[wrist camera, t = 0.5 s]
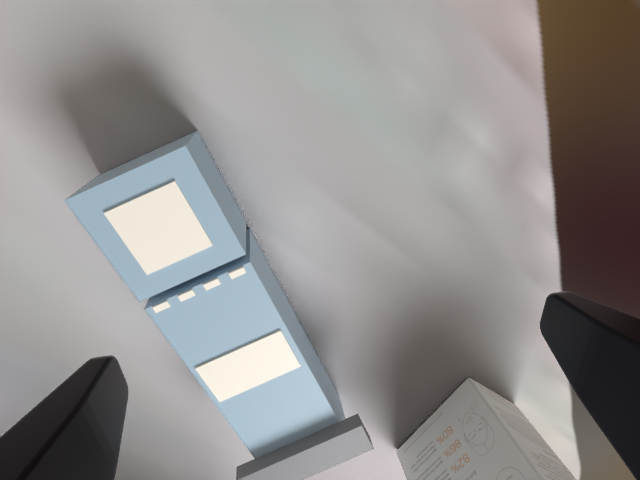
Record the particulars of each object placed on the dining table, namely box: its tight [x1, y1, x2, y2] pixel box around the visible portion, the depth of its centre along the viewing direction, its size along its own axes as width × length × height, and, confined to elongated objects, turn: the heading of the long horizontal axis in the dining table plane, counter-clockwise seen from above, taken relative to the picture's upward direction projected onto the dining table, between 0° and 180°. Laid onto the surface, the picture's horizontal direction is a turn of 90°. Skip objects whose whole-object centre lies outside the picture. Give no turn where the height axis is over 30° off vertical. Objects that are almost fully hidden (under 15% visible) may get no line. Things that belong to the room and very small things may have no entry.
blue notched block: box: [145, 228, 374, 480], centre depth 22 cm, size 7×13×5 cm, turn 22°
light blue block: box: [64, 130, 246, 302], centre depth 18 cm, size 5×5×4 cm
